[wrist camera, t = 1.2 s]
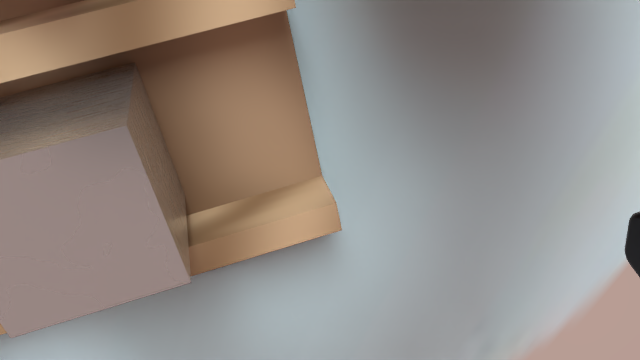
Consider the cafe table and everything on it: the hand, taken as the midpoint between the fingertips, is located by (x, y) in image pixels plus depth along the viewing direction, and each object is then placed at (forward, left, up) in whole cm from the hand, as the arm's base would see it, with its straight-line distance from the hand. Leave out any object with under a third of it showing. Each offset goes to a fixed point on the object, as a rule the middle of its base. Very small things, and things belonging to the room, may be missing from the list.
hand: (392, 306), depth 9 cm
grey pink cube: (+7, +1, -11) cm, 13 cm away
